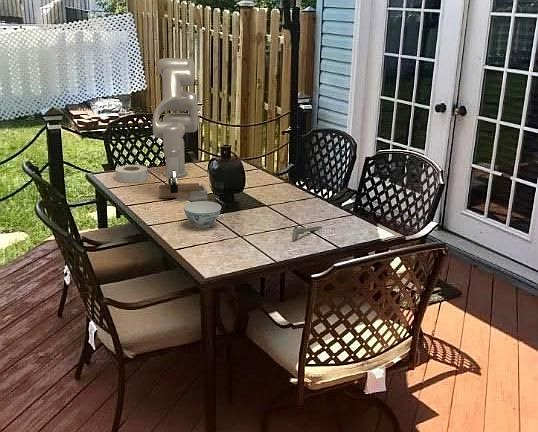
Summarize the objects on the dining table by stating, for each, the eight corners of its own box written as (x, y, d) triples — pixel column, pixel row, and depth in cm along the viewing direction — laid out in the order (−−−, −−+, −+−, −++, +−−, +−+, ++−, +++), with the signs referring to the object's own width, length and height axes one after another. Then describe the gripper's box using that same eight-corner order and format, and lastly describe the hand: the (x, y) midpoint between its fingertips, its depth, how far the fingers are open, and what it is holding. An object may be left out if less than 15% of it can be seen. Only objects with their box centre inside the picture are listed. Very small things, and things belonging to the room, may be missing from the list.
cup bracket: (174, 194, 296) (174, 186, 294) (204, 192, 299) (204, 184, 298) (176, 201, 286) (176, 193, 284) (207, 199, 289) (207, 191, 288)
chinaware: (187, 232, 249) (186, 214, 246) (181, 220, 262) (181, 202, 260) (224, 229, 253) (224, 211, 250) (217, 217, 266) (217, 200, 264)
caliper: (294, 242, 242) (294, 227, 240) (291, 241, 243) (292, 226, 241) (322, 228, 258) (323, 213, 256) (320, 227, 258) (321, 213, 256)
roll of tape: (115, 175, 324) (115, 164, 322) (147, 174, 327) (146, 163, 325) (115, 184, 309) (115, 173, 307) (148, 182, 313) (148, 171, 311)
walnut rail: (159, 195, 291) (159, 184, 289) (198, 193, 295) (198, 182, 293) (160, 198, 287) (160, 187, 285) (200, 196, 291) (199, 185, 289)
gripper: (162, 148, 290) (163, 184, 296) (165, 158, 275) (166, 195, 280) (178, 148, 292) (179, 184, 298) (182, 157, 276) (183, 195, 282)
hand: (173, 189), depth 289 cm, fingers open, 9 cm apart
